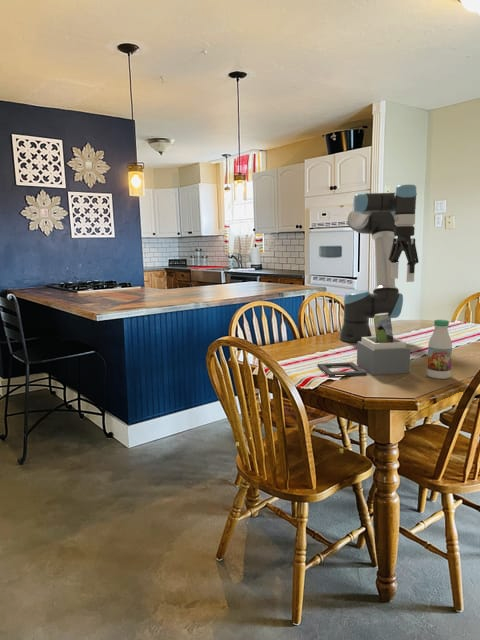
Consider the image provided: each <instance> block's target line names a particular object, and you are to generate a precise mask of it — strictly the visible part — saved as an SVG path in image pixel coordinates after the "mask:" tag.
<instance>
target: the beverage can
mask: <svg viewBox="0 0 480 640" xmlns="http://www.w3.org/2000/svg"><path fill="white" fill-rule="evenodd" d="M373 323H374V331H375V337H376V341H377V343H392V342H394V341H393V337H394V335H393V326H392V318H391V317H390V315H389V314H388V313H379V314H375V317H374V318H373Z"/></svg>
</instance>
